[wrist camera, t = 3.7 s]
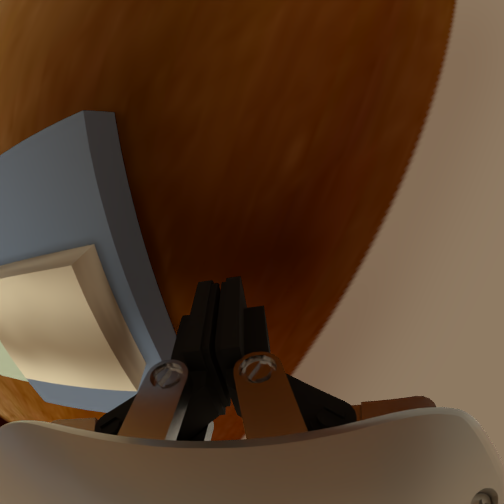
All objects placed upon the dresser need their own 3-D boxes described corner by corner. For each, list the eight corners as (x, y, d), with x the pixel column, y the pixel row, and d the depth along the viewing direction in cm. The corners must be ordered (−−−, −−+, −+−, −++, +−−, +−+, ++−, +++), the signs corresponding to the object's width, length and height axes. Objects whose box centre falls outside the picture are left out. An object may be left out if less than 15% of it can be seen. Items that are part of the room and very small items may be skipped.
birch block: (-11, 268, 11) (-30, 284, 9) (94, 243, 10) (71, 265, 9) (38, 358, 14) (26, 378, 12) (146, 363, 13) (137, 391, 12)
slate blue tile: (-31, 188, 11) (-57, 200, 9) (114, 112, 11) (83, 110, 8) (57, 378, 19) (45, 401, 16) (197, 384, 18) (192, 417, 16)
